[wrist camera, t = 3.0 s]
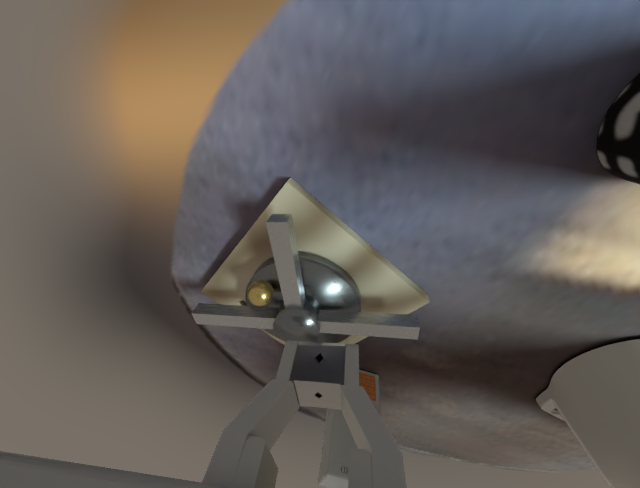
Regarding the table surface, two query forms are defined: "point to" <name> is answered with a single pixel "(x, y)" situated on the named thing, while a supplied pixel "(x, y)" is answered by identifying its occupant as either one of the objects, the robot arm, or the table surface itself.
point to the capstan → (304, 298)
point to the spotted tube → (622, 135)
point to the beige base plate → (322, 240)
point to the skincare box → (342, 438)
